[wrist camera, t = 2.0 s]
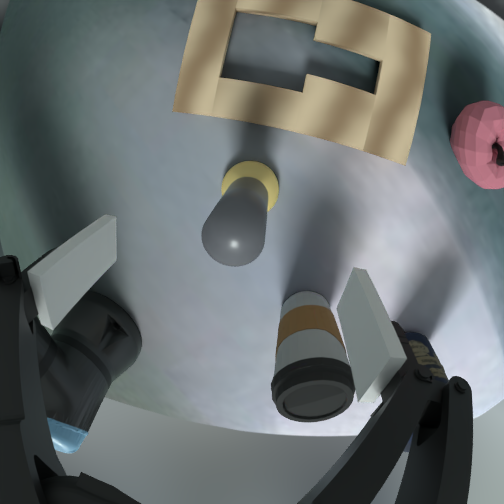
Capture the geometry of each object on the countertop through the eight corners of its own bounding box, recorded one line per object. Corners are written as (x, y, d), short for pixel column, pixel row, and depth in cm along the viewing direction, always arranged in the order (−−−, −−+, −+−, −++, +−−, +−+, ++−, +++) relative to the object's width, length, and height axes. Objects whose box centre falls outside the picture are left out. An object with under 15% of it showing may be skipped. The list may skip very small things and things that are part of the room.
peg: (219, 208, 32) (182, 269, 19) (228, 155, 29) (192, 183, 17) (272, 219, 32) (269, 287, 20) (284, 167, 29) (291, 203, 17)
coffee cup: (262, 297, 37) (254, 391, 23) (323, 272, 34) (346, 363, 21) (288, 340, 40) (290, 431, 26) (344, 319, 37) (366, 409, 24)
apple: (476, 183, 27) (526, 208, 18) (426, 166, 28) (476, 187, 19) (488, 114, 23) (540, 122, 14) (437, 89, 23) (490, 86, 14)
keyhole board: (180, 111, 28) (172, 111, 25) (210, -14, 21) (205, -24, 18) (396, 161, 28) (405, 165, 26) (420, 38, 21) (431, 33, 19)
